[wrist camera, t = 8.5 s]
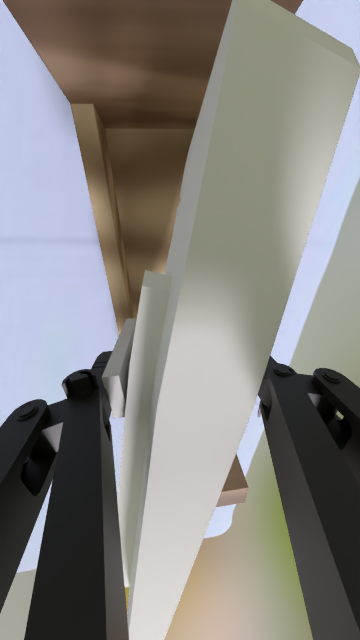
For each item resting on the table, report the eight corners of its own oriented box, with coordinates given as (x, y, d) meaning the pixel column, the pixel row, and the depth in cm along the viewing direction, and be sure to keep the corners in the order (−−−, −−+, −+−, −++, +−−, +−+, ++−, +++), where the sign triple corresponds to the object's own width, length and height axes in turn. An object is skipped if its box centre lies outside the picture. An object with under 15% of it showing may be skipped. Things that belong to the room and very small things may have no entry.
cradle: (82, 87, 15) (-399, -865, 2) (223, 90, 16) (495, -543, 3) (141, 403, 30) (128, 521, 18) (210, 395, 31) (244, 502, 18)
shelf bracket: (121, 440, 20) (76, 685, 8) (160, 200, 15) (195, -98, 3) (168, 441, 21) (192, 659, 9) (219, 217, 16) (411, 42, 4)
